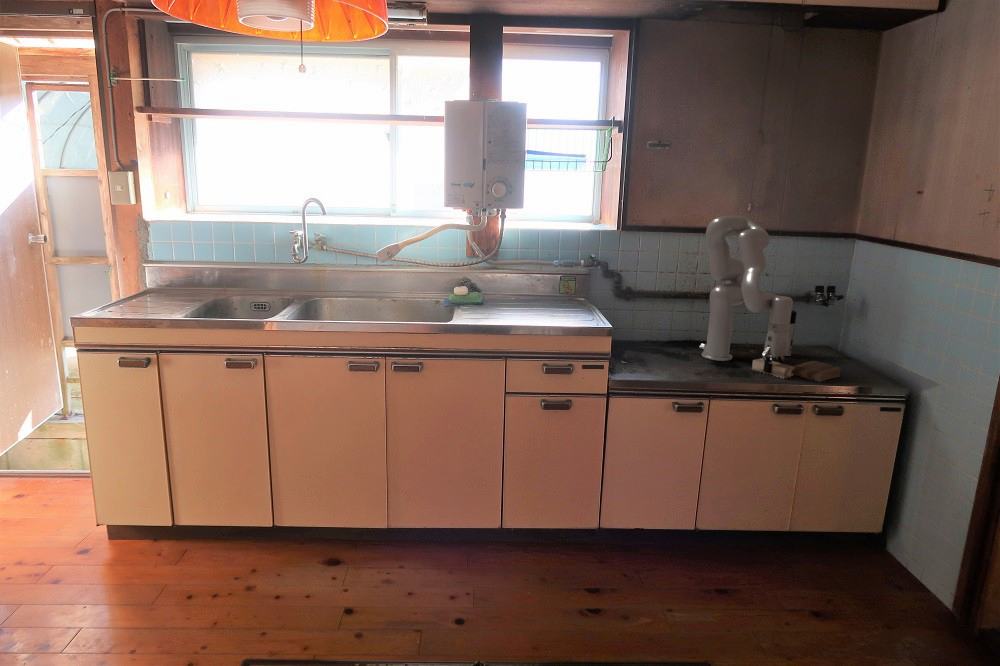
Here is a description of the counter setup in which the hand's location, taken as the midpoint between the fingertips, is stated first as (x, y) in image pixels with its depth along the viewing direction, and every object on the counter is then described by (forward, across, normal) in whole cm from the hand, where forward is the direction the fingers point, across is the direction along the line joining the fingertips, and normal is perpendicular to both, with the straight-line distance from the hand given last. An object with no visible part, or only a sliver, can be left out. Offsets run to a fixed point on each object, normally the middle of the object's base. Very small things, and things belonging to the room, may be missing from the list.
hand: (772, 370), depth 260 cm
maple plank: (+1, -1, 0) cm, 1 cm away
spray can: (+1, +29, +14) cm, 33 cm away
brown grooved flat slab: (+1, +12, -11) cm, 17 cm away
